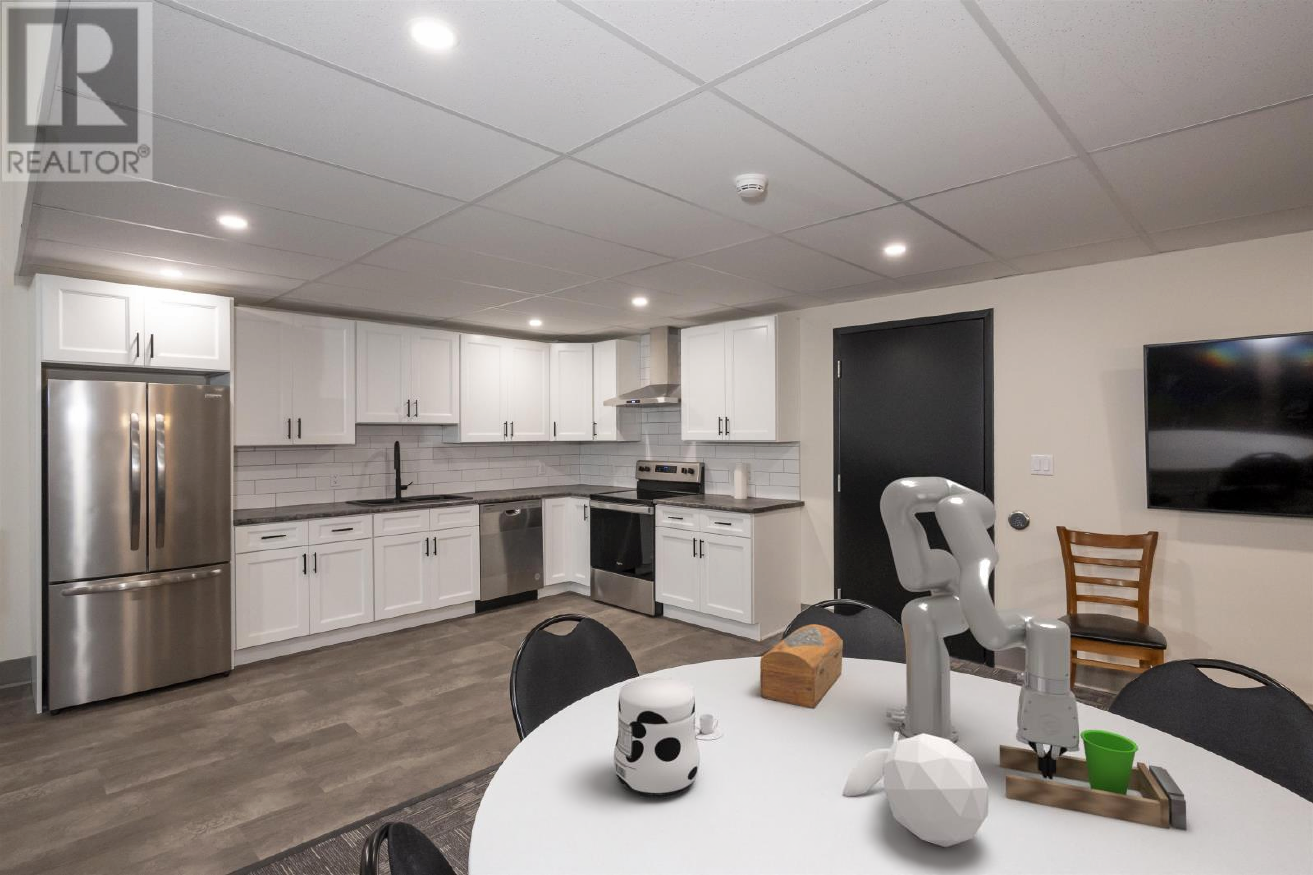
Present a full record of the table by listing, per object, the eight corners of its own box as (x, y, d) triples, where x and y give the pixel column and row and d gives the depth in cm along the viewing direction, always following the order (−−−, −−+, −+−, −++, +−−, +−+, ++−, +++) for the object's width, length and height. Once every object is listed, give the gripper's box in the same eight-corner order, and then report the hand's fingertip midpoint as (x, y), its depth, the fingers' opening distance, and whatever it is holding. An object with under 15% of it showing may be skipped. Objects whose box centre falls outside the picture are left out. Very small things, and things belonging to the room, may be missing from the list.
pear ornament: (972, 741, 103) (898, 680, 131) (861, 828, 101) (810, 747, 129) (1032, 824, 103) (945, 745, 131) (921, 912, 102) (857, 813, 130)
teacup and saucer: (681, 737, 149) (681, 720, 149) (692, 724, 157) (692, 707, 157) (717, 744, 146) (717, 726, 146) (727, 730, 153) (727, 713, 153)
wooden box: (790, 665, 199) (790, 620, 199) (844, 674, 191) (844, 627, 191) (754, 697, 173) (754, 645, 173) (814, 710, 165) (814, 655, 165)
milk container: (709, 767, 135) (709, 681, 135) (685, 811, 118) (685, 712, 119) (632, 754, 140) (632, 671, 141) (599, 794, 124) (599, 700, 124)
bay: (1006, 797, 123) (1006, 769, 123) (999, 763, 136) (999, 738, 136) (1189, 832, 112) (1188, 801, 112) (1162, 791, 125) (1161, 763, 125)
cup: (1149, 812, 118) (1150, 752, 118) (1099, 810, 118) (1100, 751, 118) (1115, 785, 127) (1116, 730, 127) (1069, 784, 127) (1069, 729, 127)
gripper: (1006, 683, 126) (1005, 776, 126) (1096, 695, 120) (1096, 793, 120) (1002, 670, 133) (1002, 759, 133) (1088, 682, 127) (1087, 774, 127)
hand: (1046, 775), depth 127 cm, fingers closed
